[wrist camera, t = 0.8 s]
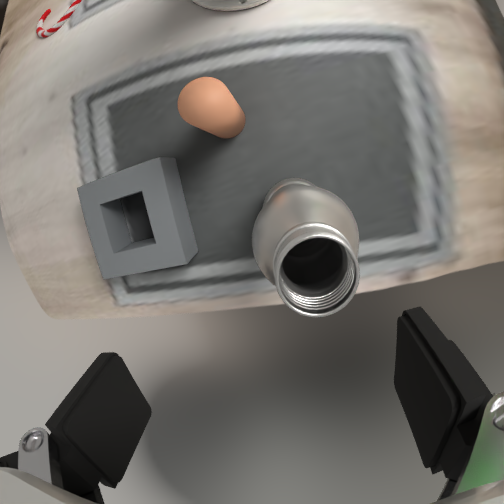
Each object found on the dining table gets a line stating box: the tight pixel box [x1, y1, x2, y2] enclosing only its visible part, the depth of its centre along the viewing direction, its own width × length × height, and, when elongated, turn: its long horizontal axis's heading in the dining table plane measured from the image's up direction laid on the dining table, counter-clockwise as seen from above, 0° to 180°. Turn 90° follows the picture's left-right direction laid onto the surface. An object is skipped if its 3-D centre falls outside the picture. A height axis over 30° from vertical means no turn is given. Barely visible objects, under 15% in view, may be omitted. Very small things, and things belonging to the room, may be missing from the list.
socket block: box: [77, 157, 198, 279], centre depth 30 cm, size 11×11×4 cm
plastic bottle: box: [252, 178, 360, 317], centre depth 21 cm, size 6×7×20 cm
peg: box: [178, 77, 245, 138], centre depth 24 cm, size 4×4×10 cm
